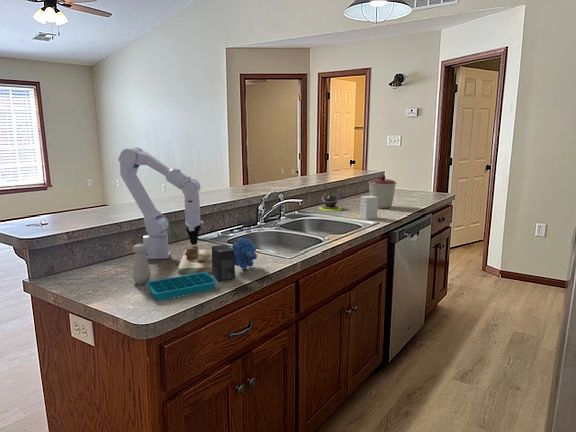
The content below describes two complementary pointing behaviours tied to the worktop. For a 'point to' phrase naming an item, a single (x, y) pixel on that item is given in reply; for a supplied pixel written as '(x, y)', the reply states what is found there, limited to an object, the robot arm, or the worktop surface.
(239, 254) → the grapes
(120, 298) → the worktop surface
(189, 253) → the walnut block
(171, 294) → the ice cube tray
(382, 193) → the canister
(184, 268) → the board
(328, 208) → the toy cauldron
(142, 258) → the salt shaker
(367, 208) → the supplement box
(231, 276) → the box
